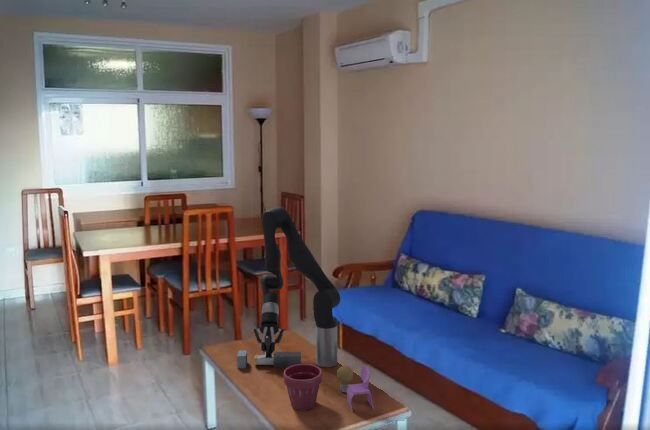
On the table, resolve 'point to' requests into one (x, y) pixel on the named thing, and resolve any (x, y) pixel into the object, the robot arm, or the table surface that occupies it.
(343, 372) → the light bulb
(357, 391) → the toy chair
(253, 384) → the table surface
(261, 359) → the block with knob
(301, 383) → the plant pot
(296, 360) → the sleeve
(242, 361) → the socket
